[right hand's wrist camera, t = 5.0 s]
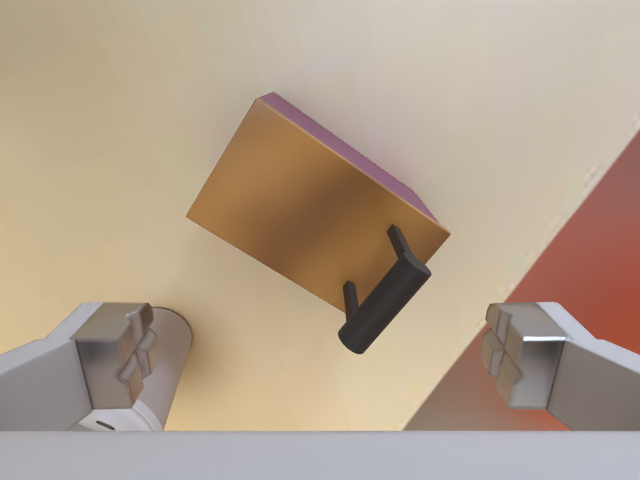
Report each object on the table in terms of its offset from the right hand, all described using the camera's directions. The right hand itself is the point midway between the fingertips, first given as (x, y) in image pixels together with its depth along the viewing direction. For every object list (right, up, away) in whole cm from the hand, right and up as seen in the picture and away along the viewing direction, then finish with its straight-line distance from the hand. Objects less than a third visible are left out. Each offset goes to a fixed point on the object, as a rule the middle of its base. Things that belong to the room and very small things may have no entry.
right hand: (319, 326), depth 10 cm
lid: (0, +4, +20) cm, 20 cm away
